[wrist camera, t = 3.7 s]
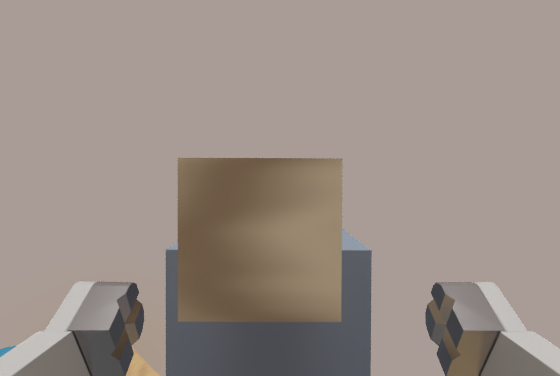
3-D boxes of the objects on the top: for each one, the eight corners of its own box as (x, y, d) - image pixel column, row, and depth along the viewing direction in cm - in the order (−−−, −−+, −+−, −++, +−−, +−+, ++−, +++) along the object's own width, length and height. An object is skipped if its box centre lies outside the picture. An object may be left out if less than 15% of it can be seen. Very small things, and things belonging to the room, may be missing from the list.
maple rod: (178, 321, 8) (177, 157, 8) (248, 221, 28) (248, 174, 28) (341, 322, 8) (342, 158, 8) (295, 222, 28) (296, 174, 28)
